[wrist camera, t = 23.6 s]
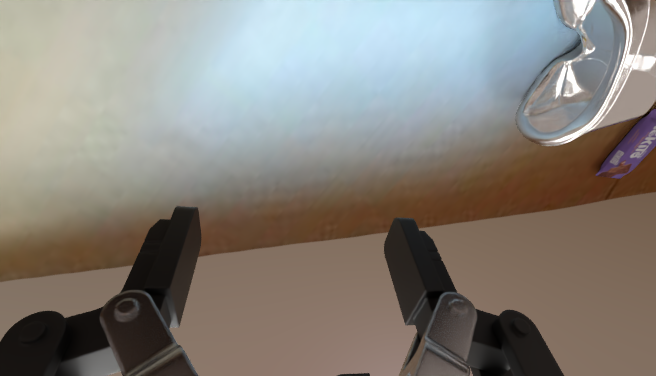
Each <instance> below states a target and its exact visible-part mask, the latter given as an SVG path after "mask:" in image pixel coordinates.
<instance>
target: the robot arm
mask: <svg viewBox="0 0 656 376" xmlns="http://www.w3.org/2000/svg"><path fill="white" fill-rule="evenodd" d="M200 246H201V228H200V220H199V211H198V208H197V207H181V206H177V207H176V208H175V210H174V212H173V215H172V217H171V220H165V219H160V220H159V221H158V222H157V223H156V224H155V225H154V226H153V227H151V228H150V230H149V232H148V234H147V236H146V238H145V242H144V243H143V245H142V247H141V250H140V253H139V254H138V256H137V258H136V261H135V263H134V265H133V267H132V270H131V272H130V274H129V276H128V279H127V281H126V283H125V285H124V287H123V289H122V291H121V292H120V293H119V294H118V295H116V296H114V297H113V298H111V299H110V300H109V301H108V302H107V303H106V304H105V305H104V306H103V307H101V308H99V309H96V310H93V311H90V312H86V313H82V314H78V315H75V316H71V317H68V318H64V317H63V316H62V315H61V314H60V313H58V312H55V311H42V312H38V313H34V314H31V315H29V316H27V317H25V318H23V319H22V320H20V321H19V322H17V323H16V324H14V325H13V326H12V327H11V328H10V329H9V330H8V331H7V333H6V334H5V335H4V337H3V338H2V340H1V342H0V376H108V375H111V374H114V373H117V372H120V371H121V373H122V375H123V376H198V374H197V373H196V371H195V369H194V367H193V366H192V364H191V362H190V360H189V358H188V357H187V355H186V353H185V351H184V350H183V348H182V347H181V346H180V345H178V344H177V342H176V341H175V339H174V337H173V335H172V333H171V332H170V330H169V328H170V327H179V326H180V322H181V318H182V315H183V311H184V307H185V303H186V300H187V296H188V292H189V288H190V285H191V280H192V277H193V273H194V269H195V265H196V262H197V258H198V255H199V251H200ZM437 251H438V250H437V248H436V246H435V244H434V241H433V240H432V239H431V238H430V237H429V236H428V235H427V234H426V232H425V231H419V229H418V227H417V224H416V222H415V220H414V219H412V218H395V219H394V220H393V223H392V225H391V228H390V230H389V233H388V235H387V238H386V241H385V244H384V254H385V258H386V261H387V264H388V268H389V271H390V275H391V278H392V281H393V285H394V288H395V291H396V294H397V298H398V301H399V305H400V308H401V312H402V315H403V318H404V322H405V325H415V326H416V329H417V333H416V335H415V337H414V340H413V342H412V344H411V347H410V349H409V352H408V354H407V357H406V359H405V362H404V364H403V367H402V369H401V372H400V374H399V376H470V368H471V371H472V374H473V376H564V375H563V373H562V371H561V369H560V368H559V366H558V364H557V363H556V361H555V359H554V357H553V355H552V354H551V352H550V350H549V348H548V346H547V345H546V343H545V341H544V339H543V338H542V336H541V334H540V332H539V331H538V329H537V328H536V326H535V324H534V323H533V322H532V321H531V320H530V319H529V318H528V317H526V316H525V315H524V314H522V313H520V312H517V311H514V310H505V311H503V312H502V313H501V314H500V315H499V316H496V315H493V314H490V313H486V312H483V311H480V310H477V309H475V307H474V306H473V304H472V303H471V302H470V301H469V300H468V299H467V298H466V297H464V296H463V295H461V294H459V293H457V291H456V289H455V287H454V285H453V282H452V280H451V278H450V276H449V274H448V272H447V270H446V267H445V265H444V263H443V261H441V257H440V254H439V253H438V252H437ZM467 365H468V366H467ZM469 366H470V367H469ZM338 376H370V374H369V373H364V374H341V375H338Z"/></svg>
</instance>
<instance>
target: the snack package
mask: <svg viewBox="0 0 656 376" xmlns="http://www.w3.org/2000/svg"><path fill="white" fill-rule="evenodd" d="M655 146H656V109H653V110H652V111H651V112H650V113H649V114H648V115H647V116H646V117H644V118H642V119H641V120H640V121H639V122H638V123H637V124H636V125H635V126H634V127H633V128H632V129H631V130H630V132H629V133H628V134H627V135H626V136H625V137H624V139H623V140H622V141H621V142H620V143H619V144H618V146H617V147H616V148H615V149H614V150H613V151H612V152H611V154H610V155H609V156H608V157H607V158H606V160H605V161H604V162H603V164H602V166H601V168H600V170H599V172H598V173H597V174H596V176H603V177H610V178H619V179H620V178H621V177H622V176H623V175H625V174H628V173H629V172H630V171H632V170H633V169H634V168H635V167H636V166H637V165H638V164H639V163H640V162H641V161H642V159H643V158H644V157H645V156H646V155H647V154H648V153H649V152H650V151H651V150H652V149H653V148H654V147H655Z"/></svg>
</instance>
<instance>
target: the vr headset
mask: <svg viewBox="0 0 656 376" xmlns="http://www.w3.org/2000/svg"><path fill="white" fill-rule="evenodd" d="M553 2H554V6H555V9H556V13H557V15H558V17H559V19H560V21H561V22H562V23H563V24H564V25H565V26H566V27H568V28H570V29H573V30H575V31H576V32H577V33H578V35H579V37H580V39H581V43H580V45H579V46H578V47H577V48H575V49H574V50H573V51H571V52H569V53H567V54H565V55H563V56H561V57H559V58H557V59H556V60H554V61H553V62H552V63H551V64H550V65H549V66H548V67H547V68H546V69H545V70H544V71H543V72H542V73H541V74H540V75H539V77H538V78H537V79H536V81H535V82H534V83H533V85H532V86H531V88H530V90H529V91H528V93H527V94H526V96H525V97H524V99H523V100H522V102H521V104H520V105H519V107H518V109H517V112H516V116H515V121H516V125H517V128H518V130H519V131H520V133H521V134H522V135H523V136H524V137H525V138H526V139H528V140H529V141H531V142H534V143H536V144H539V145H543V146H557V145H562V144H565V143H567V142H570V141H572V140H574V139H576V138H577V137H579V136H581V135H583V134H586V133H589V132H592V131H595V130H598V129H602V128H605V127H608V126H611V125H615V124H618V123H621V122H625V121H629V120H632V119H635V118H638V117H641V116H642V115H644V114H645V113H646V112H647V111H648V110H649V109H650V108H651V106H652V105H653V103H654V102H655V100H656V0H553Z"/></svg>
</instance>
